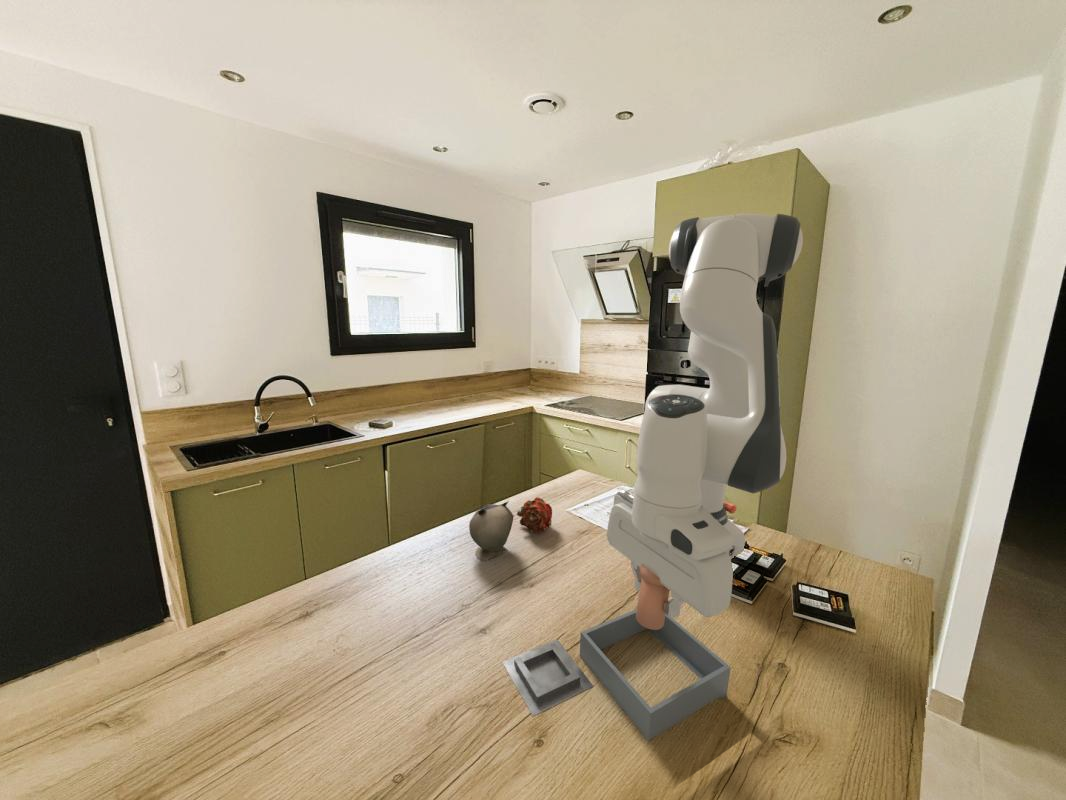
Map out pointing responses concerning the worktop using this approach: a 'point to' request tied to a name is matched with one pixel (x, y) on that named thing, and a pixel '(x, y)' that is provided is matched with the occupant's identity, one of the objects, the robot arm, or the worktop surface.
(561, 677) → the socket plate
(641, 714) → the slate tray
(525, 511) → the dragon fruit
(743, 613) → the worktop surface
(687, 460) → the robot arm
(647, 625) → the butternut squash
